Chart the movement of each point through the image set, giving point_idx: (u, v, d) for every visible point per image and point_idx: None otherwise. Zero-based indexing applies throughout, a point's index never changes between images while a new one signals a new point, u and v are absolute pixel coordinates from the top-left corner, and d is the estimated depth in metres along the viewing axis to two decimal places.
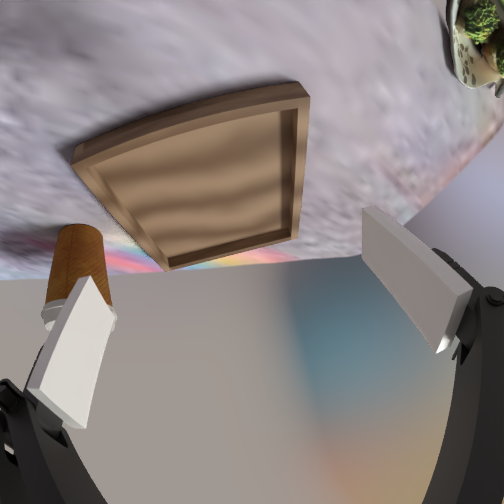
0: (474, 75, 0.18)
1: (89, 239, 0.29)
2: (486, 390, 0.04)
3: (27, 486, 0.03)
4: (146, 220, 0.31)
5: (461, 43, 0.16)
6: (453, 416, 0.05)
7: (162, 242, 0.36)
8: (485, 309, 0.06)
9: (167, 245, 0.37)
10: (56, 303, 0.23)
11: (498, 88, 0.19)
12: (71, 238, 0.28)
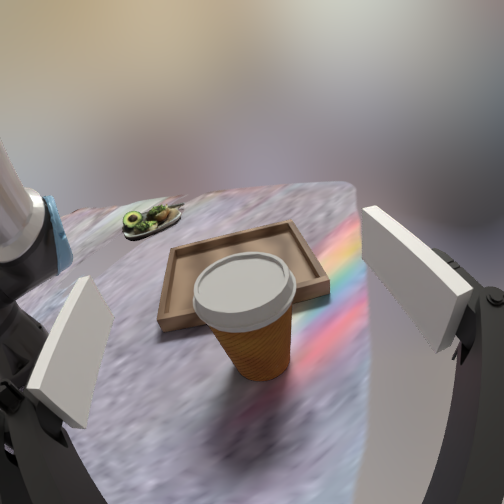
0: (175, 216, 0.73)
1: None
2: (486, 390, 0.04)
3: (27, 486, 0.03)
4: None
5: None
6: (453, 416, 0.05)
7: None
8: (485, 309, 0.06)
9: None
10: None
11: (179, 205, 0.77)
12: None
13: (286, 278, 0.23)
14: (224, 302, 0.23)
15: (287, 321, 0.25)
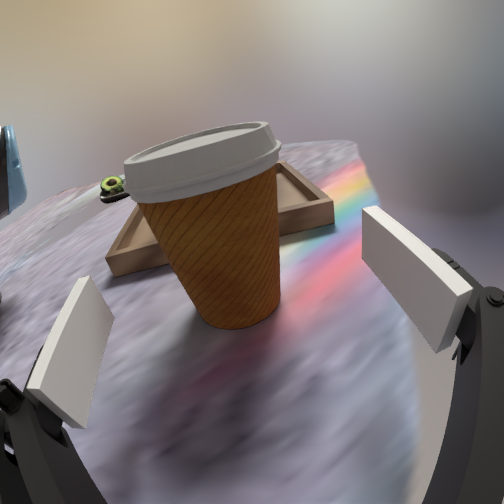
0: None
1: None
2: (486, 390, 0.04)
3: (27, 486, 0.03)
4: None
5: None
6: (453, 416, 0.05)
7: None
8: (485, 309, 0.06)
9: None
10: None
11: None
12: None
13: (263, 125, 0.14)
14: None
15: (269, 203, 0.15)
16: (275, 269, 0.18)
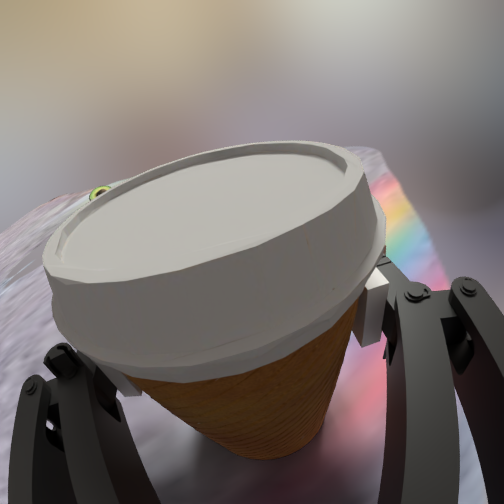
0: None
1: None
2: (414, 394, 0.05)
3: (68, 462, 0.04)
4: None
5: None
6: (389, 419, 0.06)
7: None
8: (404, 308, 0.07)
9: None
10: None
11: None
12: None
13: (354, 163, 0.06)
14: (112, 250, 0.05)
15: (350, 328, 0.07)
16: (331, 395, 0.10)
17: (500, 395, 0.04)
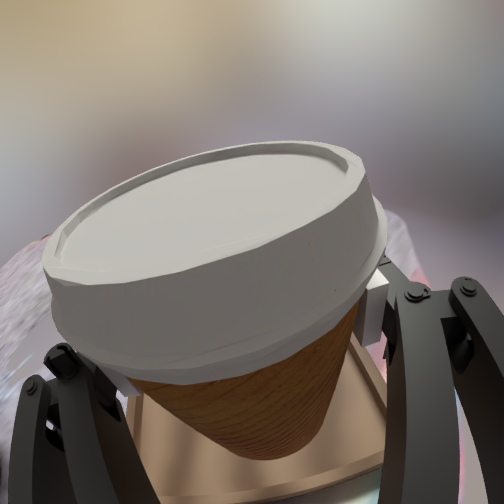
0: None
1: None
2: (414, 394, 0.05)
3: (68, 462, 0.04)
4: (271, 477, 0.16)
5: None
6: (389, 419, 0.06)
7: (341, 459, 0.17)
8: (404, 308, 0.07)
9: (352, 451, 0.17)
10: None
11: None
12: None
13: (356, 163, 0.06)
14: (112, 251, 0.05)
15: (351, 329, 0.07)
16: (332, 396, 0.10)
17: (500, 395, 0.04)
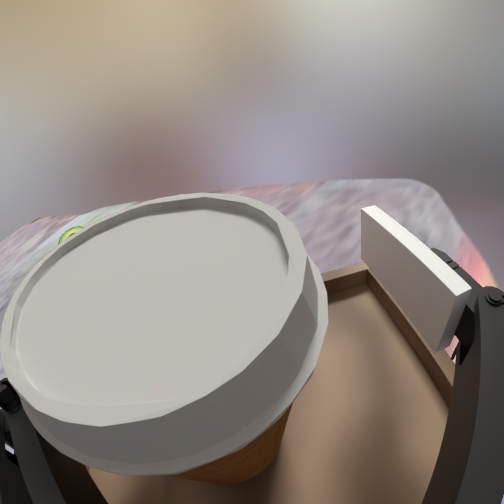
0: None
1: None
2: (485, 390, 0.04)
3: (28, 486, 0.03)
4: None
5: None
6: (452, 416, 0.05)
7: None
8: (484, 309, 0.06)
9: (421, 493, 0.07)
10: None
11: None
12: None
13: (297, 267, 0.06)
14: (56, 351, 0.05)
15: None
16: (281, 438, 0.10)
17: None
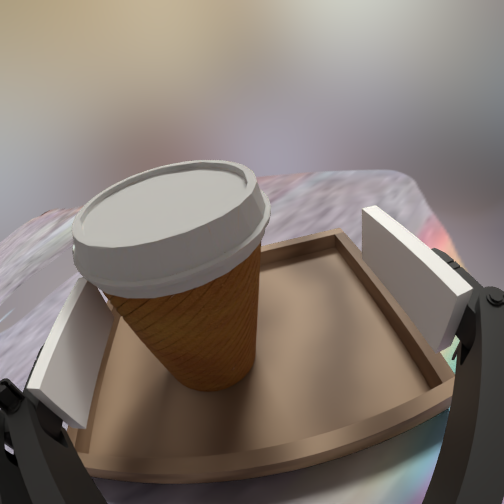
0: None
1: None
2: (486, 390, 0.04)
3: (27, 486, 0.03)
4: (261, 440, 0.13)
5: None
6: (453, 417, 0.05)
7: (359, 414, 0.13)
8: (485, 309, 0.06)
9: (375, 403, 0.13)
10: None
11: None
12: None
13: (251, 185, 0.11)
14: (117, 232, 0.10)
15: (252, 282, 0.12)
16: (253, 337, 0.16)
17: None
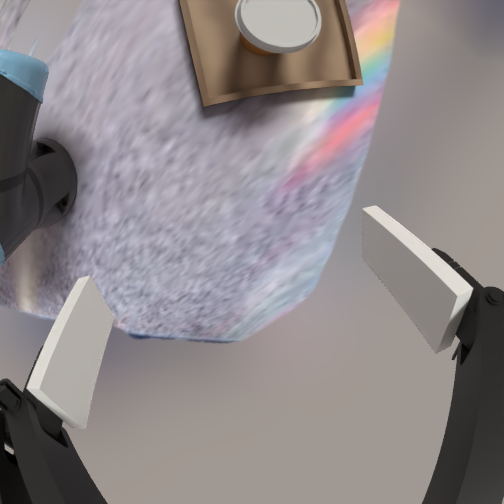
0: None
1: None
2: (486, 390, 0.04)
3: (27, 486, 0.03)
4: (288, 77, 0.34)
5: None
6: (453, 416, 0.05)
7: (323, 75, 0.35)
8: (485, 309, 0.06)
9: (330, 72, 0.35)
10: (239, 22, 0.22)
11: None
12: None
13: (319, 20, 0.21)
14: (272, 34, 0.22)
15: None
16: None
17: None
